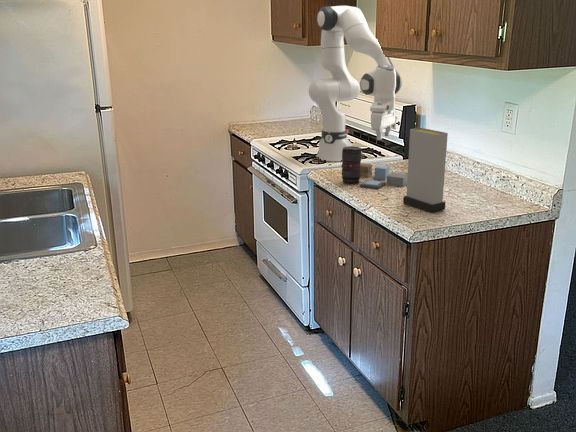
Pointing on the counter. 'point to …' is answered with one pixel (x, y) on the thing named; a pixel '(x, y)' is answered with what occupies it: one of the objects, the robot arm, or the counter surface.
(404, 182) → the riser block
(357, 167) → the camera lens
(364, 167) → the walnut cube
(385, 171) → the slate blue cube
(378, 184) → the tile
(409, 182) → the container
